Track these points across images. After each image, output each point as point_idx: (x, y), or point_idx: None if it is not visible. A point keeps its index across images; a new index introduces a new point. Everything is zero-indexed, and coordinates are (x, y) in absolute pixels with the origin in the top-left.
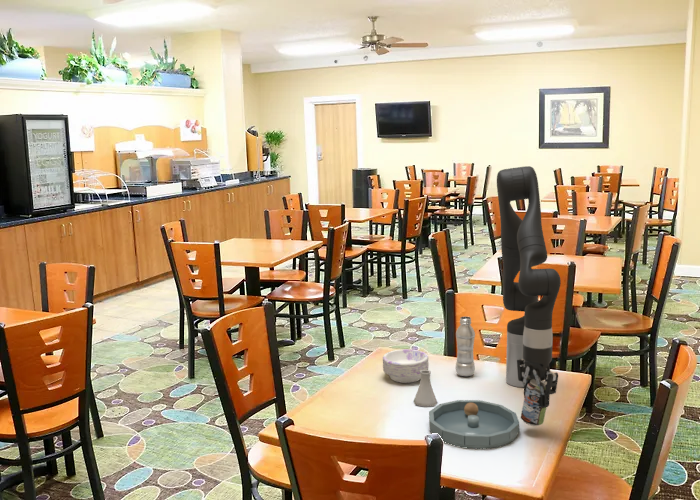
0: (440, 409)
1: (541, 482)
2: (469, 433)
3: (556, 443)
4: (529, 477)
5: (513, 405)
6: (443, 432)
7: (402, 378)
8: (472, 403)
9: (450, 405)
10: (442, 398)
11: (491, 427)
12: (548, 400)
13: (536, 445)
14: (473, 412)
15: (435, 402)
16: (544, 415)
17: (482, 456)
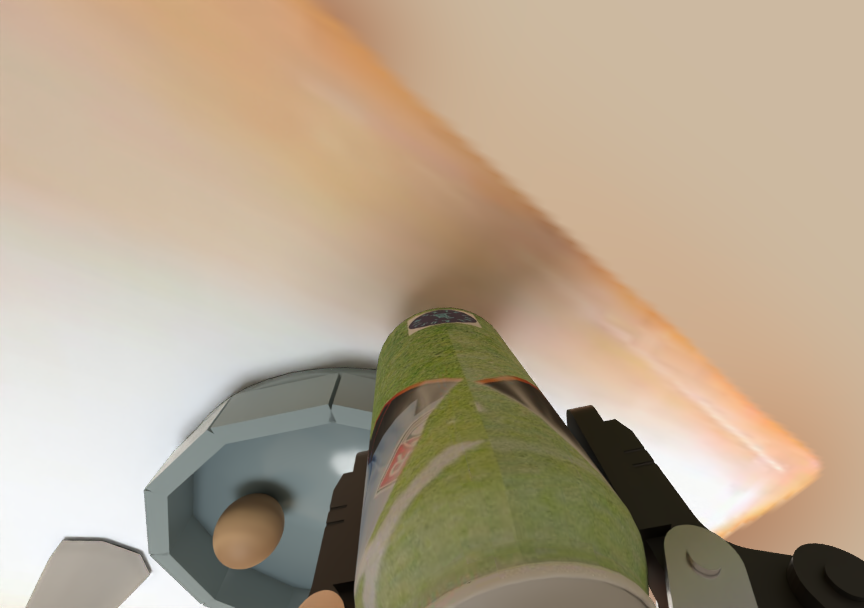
0: (238, 595)
1: (785, 445)
2: None
3: (583, 273)
4: (738, 462)
5: (74, 276)
6: None
7: None
8: (240, 561)
9: (200, 571)
10: (41, 515)
11: None
12: (654, 471)
13: (561, 360)
14: (282, 528)
15: (111, 553)
16: (504, 345)
17: None
